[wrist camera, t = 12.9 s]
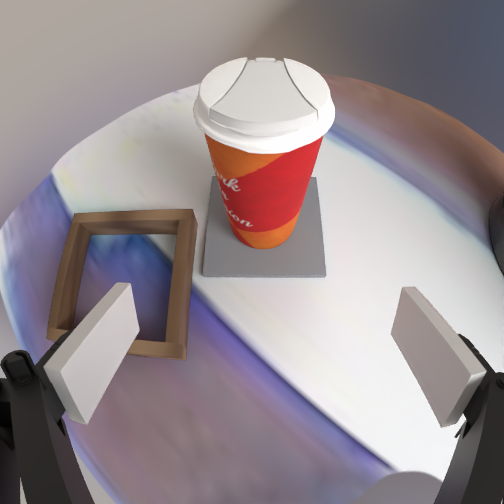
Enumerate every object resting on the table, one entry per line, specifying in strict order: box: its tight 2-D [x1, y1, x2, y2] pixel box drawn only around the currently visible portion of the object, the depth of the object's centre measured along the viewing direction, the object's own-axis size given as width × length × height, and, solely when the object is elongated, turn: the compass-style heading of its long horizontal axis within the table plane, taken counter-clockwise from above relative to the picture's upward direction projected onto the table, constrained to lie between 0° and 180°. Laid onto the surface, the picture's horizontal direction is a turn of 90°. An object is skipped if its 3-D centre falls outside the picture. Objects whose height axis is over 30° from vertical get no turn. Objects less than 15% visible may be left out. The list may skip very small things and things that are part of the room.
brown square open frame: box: [46, 209, 198, 360], centre depth 24 cm, size 12×12×2 cm
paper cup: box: [193, 57, 335, 249], centre depth 20 cm, size 8×8×14 cm
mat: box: [203, 176, 326, 277], centre depth 27 cm, size 10×10×1 cm
